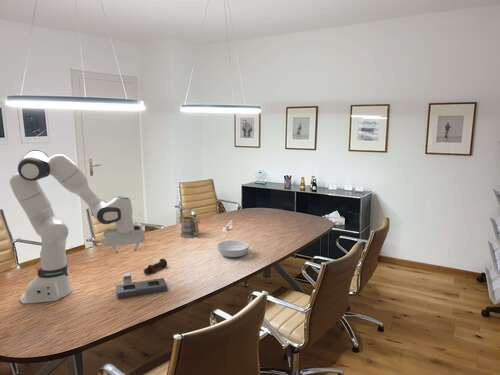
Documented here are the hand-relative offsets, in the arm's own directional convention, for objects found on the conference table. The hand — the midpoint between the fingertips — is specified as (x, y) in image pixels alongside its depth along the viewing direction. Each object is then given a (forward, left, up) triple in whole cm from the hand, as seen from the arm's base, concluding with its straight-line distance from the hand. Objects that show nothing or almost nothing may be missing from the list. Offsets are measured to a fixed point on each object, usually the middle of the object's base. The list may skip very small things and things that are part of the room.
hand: (126, 252), depth 195 cm
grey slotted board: (+6, -13, -17) cm, 22 cm away
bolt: (+16, +13, -18) cm, 27 cm away
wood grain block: (0, 0, -17) cm, 17 cm away
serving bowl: (+68, +20, -18) cm, 73 cm away
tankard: (+53, +71, -18) cm, 90 cm away
